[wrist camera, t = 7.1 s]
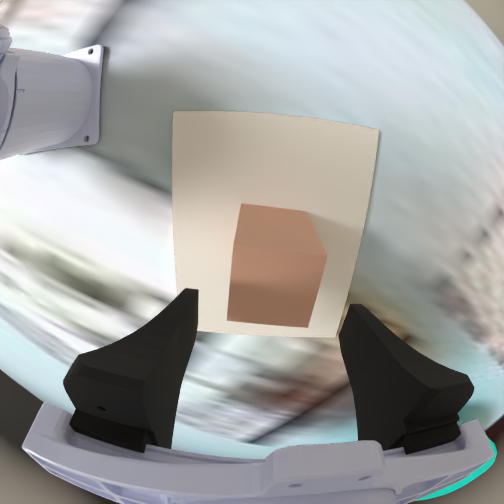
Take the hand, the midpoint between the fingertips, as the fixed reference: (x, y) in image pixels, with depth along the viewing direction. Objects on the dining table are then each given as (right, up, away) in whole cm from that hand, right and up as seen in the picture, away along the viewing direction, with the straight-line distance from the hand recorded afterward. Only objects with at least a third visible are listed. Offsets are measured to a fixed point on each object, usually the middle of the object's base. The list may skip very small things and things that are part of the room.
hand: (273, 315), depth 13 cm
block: (0, +4, +8) cm, 9 cm away
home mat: (0, +4, +8) cm, 9 cm away
